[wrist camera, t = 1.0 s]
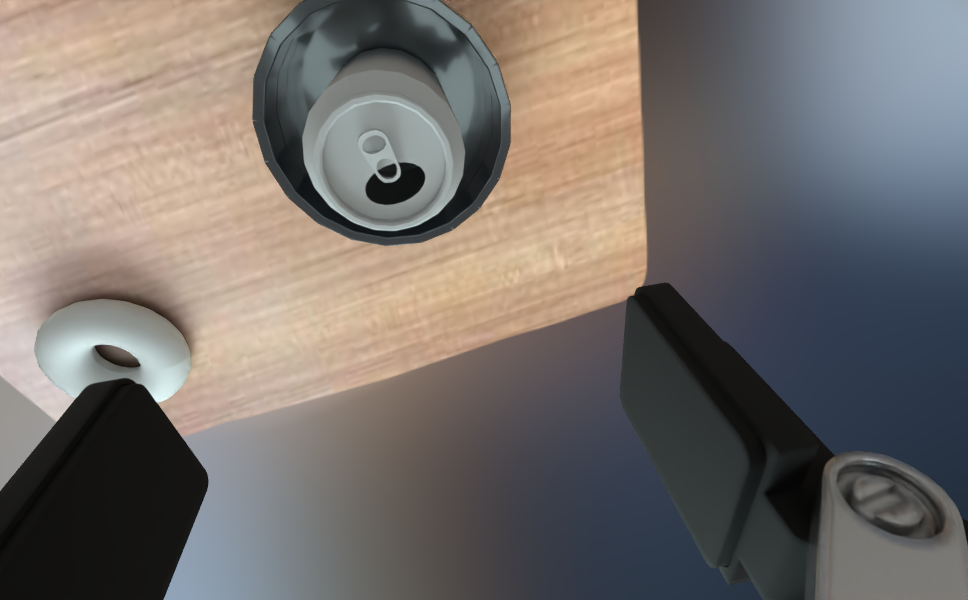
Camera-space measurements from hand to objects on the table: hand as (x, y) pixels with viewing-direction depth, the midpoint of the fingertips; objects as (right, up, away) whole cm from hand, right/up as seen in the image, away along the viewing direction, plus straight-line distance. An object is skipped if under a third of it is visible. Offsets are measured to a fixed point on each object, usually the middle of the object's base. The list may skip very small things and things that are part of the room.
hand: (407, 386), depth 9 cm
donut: (-27, -2, +28) cm, 39 cm away
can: (-5, +14, +21) cm, 26 cm away
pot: (-5, +14, +21) cm, 26 cm away
